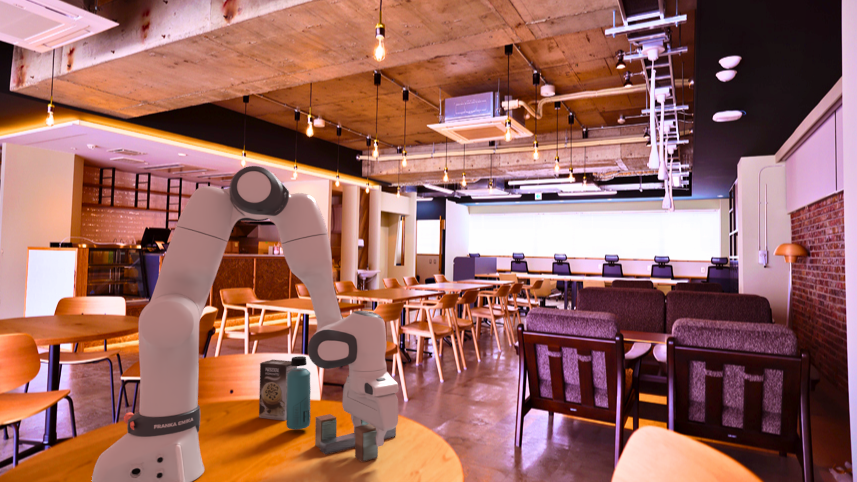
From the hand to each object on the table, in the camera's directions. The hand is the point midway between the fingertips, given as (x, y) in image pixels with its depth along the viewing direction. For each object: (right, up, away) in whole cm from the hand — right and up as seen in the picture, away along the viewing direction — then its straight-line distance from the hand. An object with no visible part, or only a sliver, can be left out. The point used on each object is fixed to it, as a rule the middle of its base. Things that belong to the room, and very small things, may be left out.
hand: (368, 439), depth 112 cm
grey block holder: (-5, -5, +10) cm, 12 cm away
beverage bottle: (-21, -5, +17) cm, 28 cm away
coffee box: (-31, -6, +30) cm, 44 cm away
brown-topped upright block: (0, -4, -1) cm, 4 cm away
